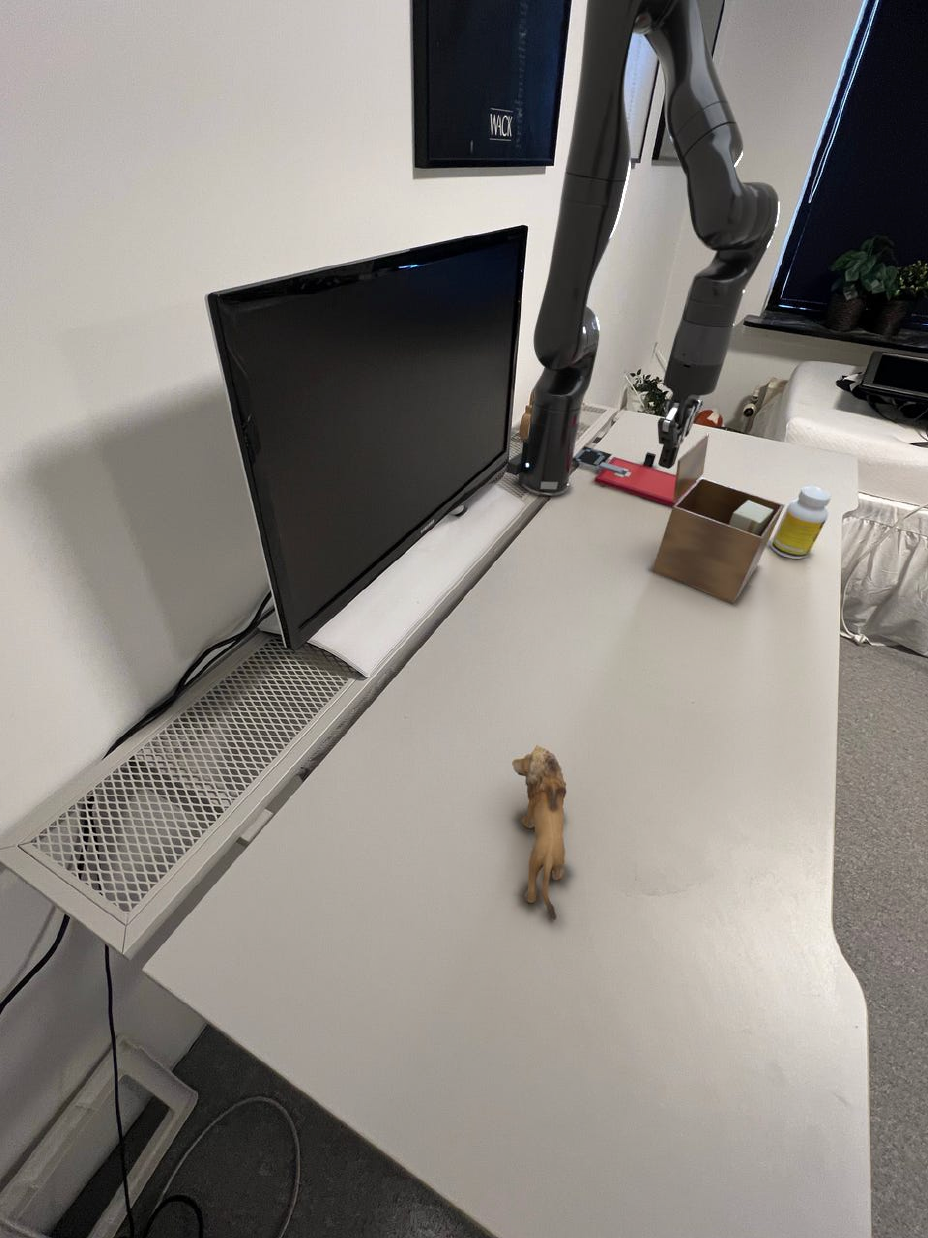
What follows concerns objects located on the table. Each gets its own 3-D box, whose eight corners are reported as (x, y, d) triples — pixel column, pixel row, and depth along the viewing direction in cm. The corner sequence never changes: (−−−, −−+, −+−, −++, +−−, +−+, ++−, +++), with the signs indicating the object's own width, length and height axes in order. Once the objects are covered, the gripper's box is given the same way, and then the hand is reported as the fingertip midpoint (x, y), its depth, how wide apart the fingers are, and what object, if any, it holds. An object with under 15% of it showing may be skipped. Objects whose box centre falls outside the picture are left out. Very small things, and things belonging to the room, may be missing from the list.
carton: (652, 570, 100) (672, 506, 92) (679, 538, 109) (700, 477, 100) (733, 604, 95) (762, 538, 87) (756, 567, 103) (784, 504, 95)
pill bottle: (802, 565, 104) (832, 507, 96) (765, 551, 107) (791, 493, 99) (811, 549, 108) (841, 492, 100) (775, 536, 111) (801, 479, 103)
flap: (675, 502, 92) (672, 502, 92) (703, 473, 100) (700, 473, 100) (680, 460, 88) (677, 460, 88) (708, 433, 96) (706, 433, 96)
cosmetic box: (731, 587, 97) (759, 523, 89) (706, 576, 99) (732, 512, 91) (747, 571, 101) (775, 508, 93) (722, 560, 103) (748, 498, 95)
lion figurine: (504, 789, 67) (512, 739, 61) (550, 786, 68) (563, 737, 62) (527, 924, 56) (540, 880, 50) (582, 920, 57) (601, 875, 51)
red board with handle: (586, 446, 135) (560, 473, 126) (589, 435, 133) (562, 461, 124) (719, 485, 125) (702, 518, 115) (724, 473, 123) (706, 505, 113)
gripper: (688, 338, 91) (659, 446, 102) (655, 359, 83) (627, 473, 94) (737, 349, 88) (702, 459, 99) (708, 371, 79) (672, 488, 91)
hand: (665, 465), depth 96 cm, fingers closed
